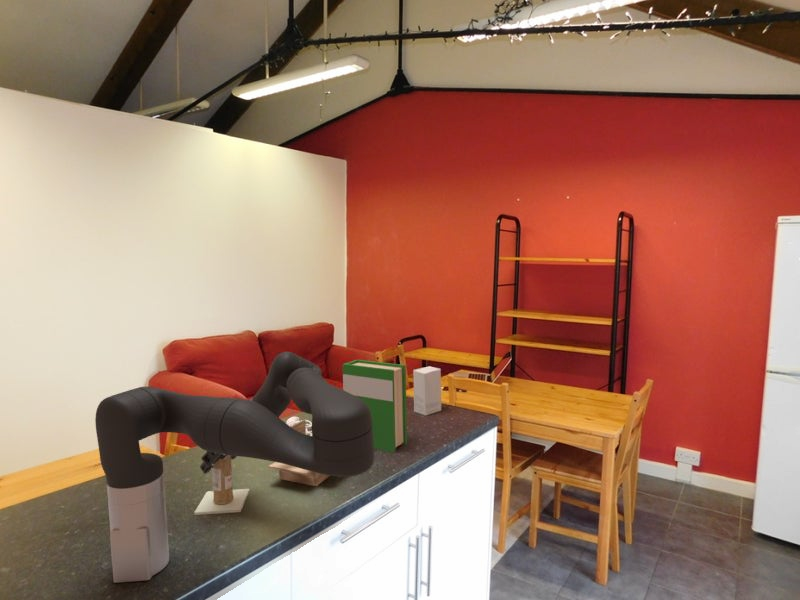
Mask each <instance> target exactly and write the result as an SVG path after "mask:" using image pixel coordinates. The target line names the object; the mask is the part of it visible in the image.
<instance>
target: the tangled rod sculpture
mask: <svg viewBox="0 0 800 600" xmlns="http://www.w3.org/2000/svg"><path fill="white" fill-rule="evenodd" d="M302 420H303V419H302ZM302 420H300V417H298V416H291V417H290V418H288V419H287V420H286V422H285V423H286V424H287V425H289V426H292V425H294V424H296V423H298V422H300V421H302ZM304 420H305V424H306V435H310V436H312V430H308V429H309V428H312V421H310V420H308V419H304ZM306 422H307V423H306ZM308 423H309V424H308ZM312 437H313V436H312Z"/></svg>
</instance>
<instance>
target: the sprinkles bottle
mask: <svg viewBox="0 0 800 600" xmlns="http://www.w3.org/2000/svg"><path fill="white" fill-rule="evenodd" d="M224 455H225V454H224ZM218 458H219V457H218ZM211 475H212V476H211V479H212V480H211V481H212V491H213V493H214V499H213V502H214V503H216V504H226V503H229V502H230V501H232V500H233V498H234V496H233V490H234V489H233V488H234V487H233V485H234V484H233V469H232V459H231V455H230V456H228V457H227V458H226V459H224V460H223V459H221V460H220V461H219V462H218V463H216V465H214V466H213V468H212V469H211Z"/></svg>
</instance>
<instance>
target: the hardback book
mask: <svg viewBox="0 0 800 600" xmlns="http://www.w3.org/2000/svg"><path fill="white" fill-rule="evenodd" d="M406 367H407V365H406V364H398V363H390V362H389V363H388V362H381V361H373V360H363V359H354V360H352V361H349V362H346V363H345V362H344V363H343V364H342V385H343V386H342V388H343V389H342V390H344V391H346V392H348V393H350V394H352V395H354V396H356V397H358V398H360V399H361V400H362V401H364V402H365V403H366V404H367V406H368V407H369V409H370V412H371V416H372V425H373V439H374V449H377V450H381V451H386V452H390V453H395V452H396V451H397V448H398V446H400V445H403V446H406V445H408V432H407V431H408V426H407V425H408V423H407V421H408V419H407V418H408V417H407V416H408V415H407V378H406V377H407V376H406V375H407V371H406V370H407V369H406Z"/></svg>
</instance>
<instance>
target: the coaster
mask: <svg viewBox="0 0 800 600" xmlns="http://www.w3.org/2000/svg"><path fill="white" fill-rule="evenodd" d="M249 494H250V488H241V489H238V488H237V489H233V496H234V498H233V500H232V501H230V502H229V503H226V504H216V503H214V502H213V499H214V493H213V490H210V491H208V490H207V491H206V492H205V494H204V496H203V498H202V499H201V501H200V502H199V504H198V506H197V507H196V509H195V510H194V512H193V513H194V516H200V515H201V516H202V515H211V514H212V515H215V514H231V513H232V514H233V513H242V510H243V507H244V506H245V502H246V500H247V499H248V495H249Z"/></svg>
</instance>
